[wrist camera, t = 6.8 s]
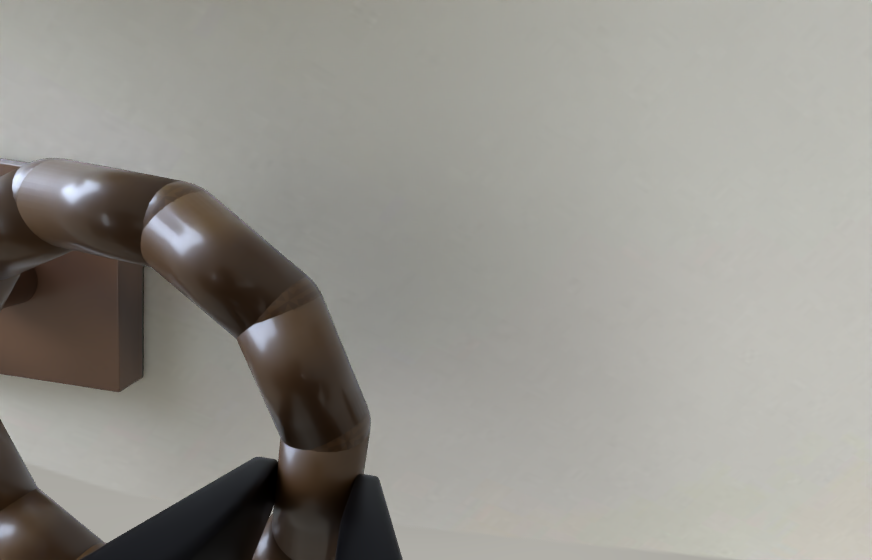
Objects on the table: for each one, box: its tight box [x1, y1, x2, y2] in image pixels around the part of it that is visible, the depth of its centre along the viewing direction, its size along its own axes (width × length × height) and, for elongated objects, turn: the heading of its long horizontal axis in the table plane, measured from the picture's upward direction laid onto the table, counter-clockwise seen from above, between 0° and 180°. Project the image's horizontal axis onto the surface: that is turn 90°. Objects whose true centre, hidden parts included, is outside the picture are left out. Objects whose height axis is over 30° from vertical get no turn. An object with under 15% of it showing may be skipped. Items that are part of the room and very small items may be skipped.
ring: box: [0, 158, 371, 560], centre depth 9 cm, size 10×10×2 cm
